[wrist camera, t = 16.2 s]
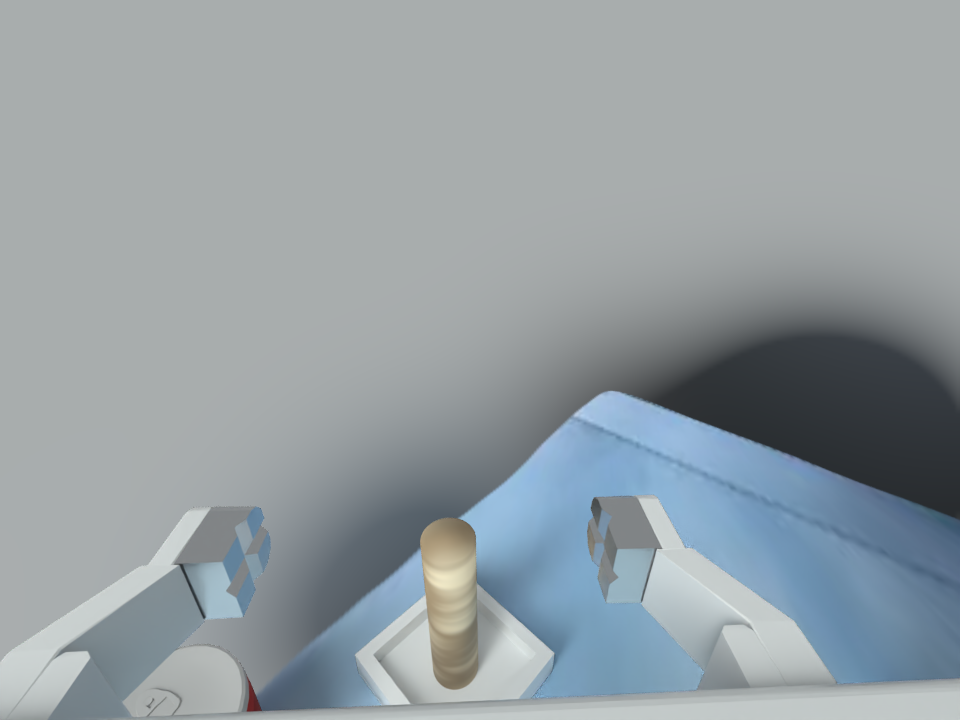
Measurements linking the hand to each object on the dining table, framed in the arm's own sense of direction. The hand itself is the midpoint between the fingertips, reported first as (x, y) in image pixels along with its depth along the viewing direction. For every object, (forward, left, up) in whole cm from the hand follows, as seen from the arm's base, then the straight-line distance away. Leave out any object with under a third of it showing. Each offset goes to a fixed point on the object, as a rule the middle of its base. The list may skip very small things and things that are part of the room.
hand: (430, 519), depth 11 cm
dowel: (+9, -8, -29) cm, 31 cm away
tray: (+9, -8, -30) cm, 32 cm away
